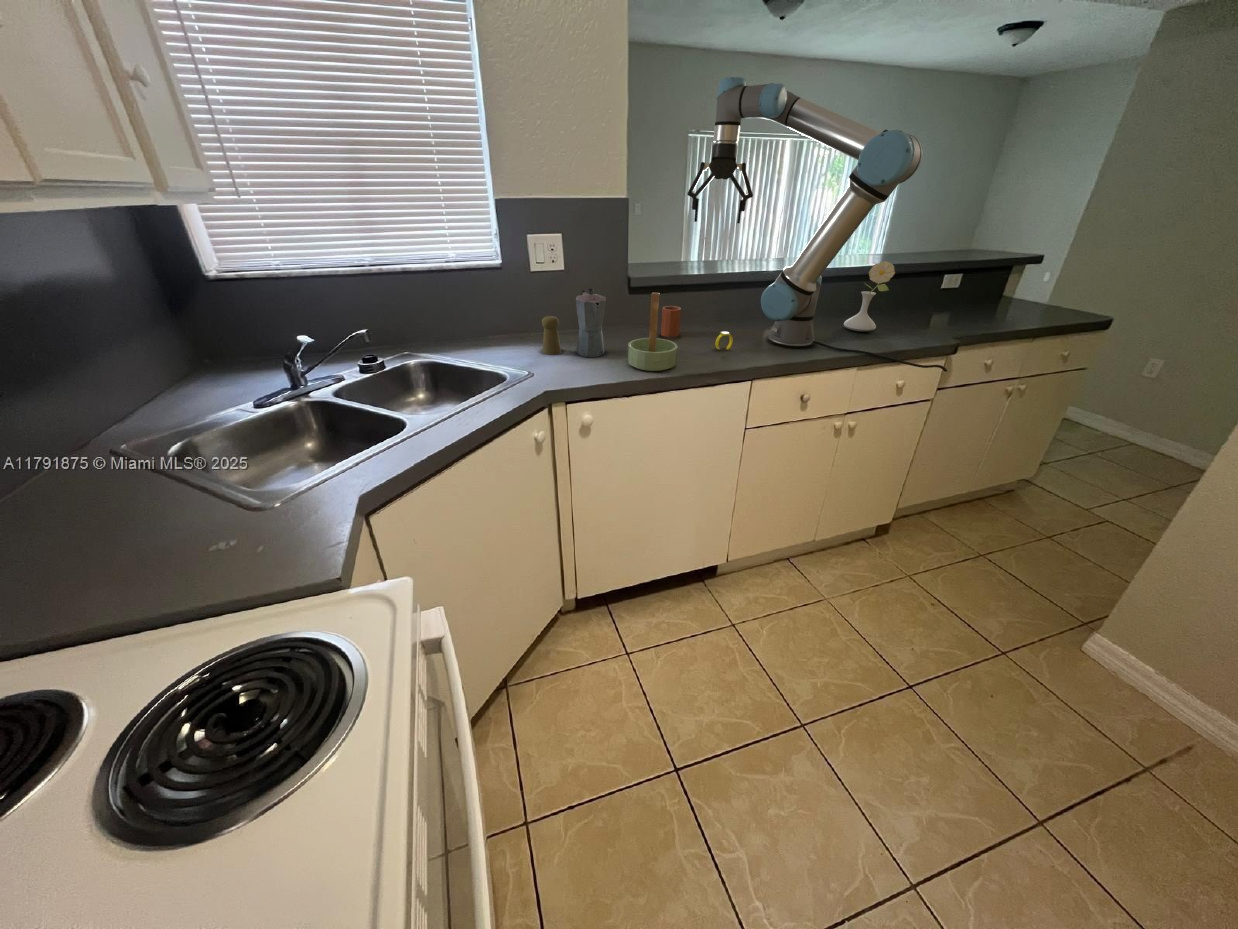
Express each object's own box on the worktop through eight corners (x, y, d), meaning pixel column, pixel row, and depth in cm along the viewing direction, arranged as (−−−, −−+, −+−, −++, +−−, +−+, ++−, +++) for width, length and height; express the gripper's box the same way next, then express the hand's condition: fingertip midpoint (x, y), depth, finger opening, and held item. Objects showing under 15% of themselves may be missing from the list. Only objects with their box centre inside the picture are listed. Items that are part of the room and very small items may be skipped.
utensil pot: (679, 334, 175) (681, 306, 170) (677, 340, 170) (680, 310, 164) (661, 333, 176) (663, 305, 171) (659, 338, 171) (661, 309, 166)
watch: (728, 348, 163) (730, 330, 160) (733, 350, 161) (735, 332, 157) (713, 350, 160) (715, 332, 157) (717, 352, 158) (720, 334, 155)
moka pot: (585, 362, 148) (584, 293, 137) (566, 347, 159) (564, 284, 149) (613, 357, 152) (614, 291, 141) (593, 344, 163) (592, 281, 153)
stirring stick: (655, 361, 147) (659, 292, 137) (654, 363, 146) (658, 294, 135) (648, 360, 148) (652, 292, 137) (647, 362, 146) (651, 293, 136)
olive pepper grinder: (564, 349, 157) (563, 315, 152) (556, 355, 152) (554, 320, 147) (547, 347, 159) (545, 313, 153) (539, 353, 154) (536, 318, 148)
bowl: (678, 358, 152) (679, 339, 149) (673, 374, 140) (674, 354, 137) (632, 355, 154) (632, 336, 151) (623, 370, 142) (624, 350, 139)
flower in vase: (836, 328, 187) (853, 258, 174) (852, 324, 193) (870, 256, 180) (868, 336, 178) (889, 264, 165) (884, 332, 184) (906, 261, 171)
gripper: (767, 144, 147) (756, 222, 157) (685, 143, 151) (679, 219, 161) (769, 143, 140) (756, 224, 151) (682, 142, 144) (677, 221, 155)
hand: (716, 222), depth 156 cm, fingers open, 13 cm apart
